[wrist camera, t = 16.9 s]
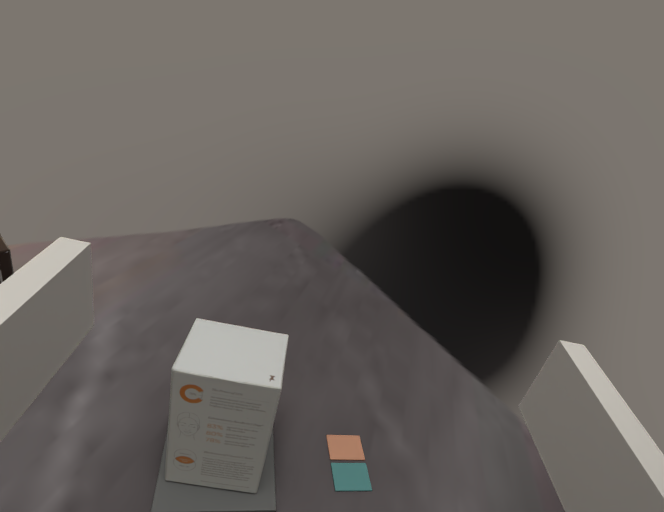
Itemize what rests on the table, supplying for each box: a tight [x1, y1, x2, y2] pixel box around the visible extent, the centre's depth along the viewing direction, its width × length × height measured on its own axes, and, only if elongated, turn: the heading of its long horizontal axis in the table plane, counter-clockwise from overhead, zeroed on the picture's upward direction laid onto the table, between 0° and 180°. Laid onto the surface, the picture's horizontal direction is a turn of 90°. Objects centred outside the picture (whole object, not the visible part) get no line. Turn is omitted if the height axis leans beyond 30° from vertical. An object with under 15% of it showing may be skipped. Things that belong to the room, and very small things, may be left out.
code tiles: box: [326, 435, 372, 491], centre depth 44 cm, size 4×6×1 cm, turn 9°
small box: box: [165, 318, 289, 493], centre depth 37 cm, size 8×6×13 cm
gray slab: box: [151, 428, 276, 512], centre depth 40 cm, size 10×10×1 cm
